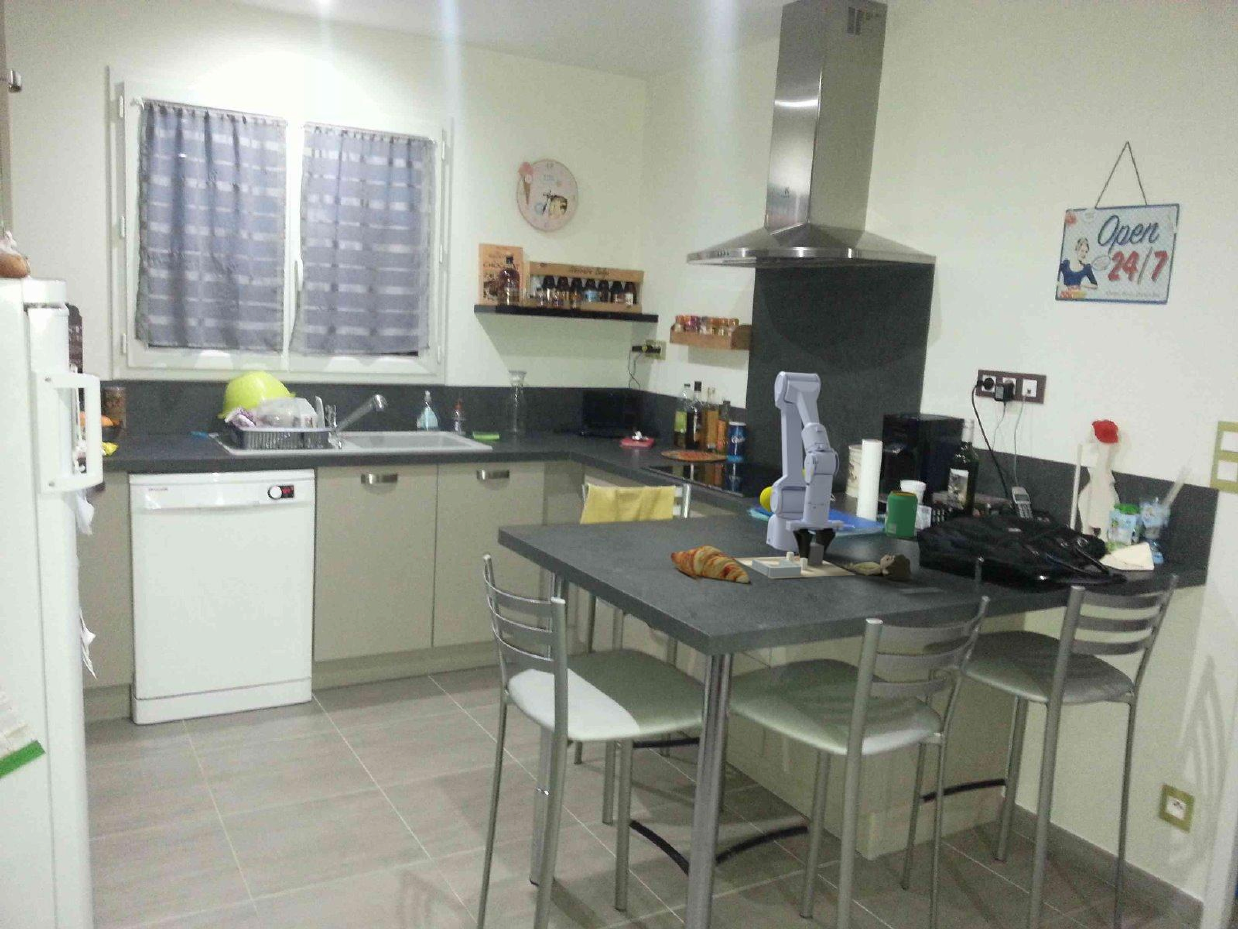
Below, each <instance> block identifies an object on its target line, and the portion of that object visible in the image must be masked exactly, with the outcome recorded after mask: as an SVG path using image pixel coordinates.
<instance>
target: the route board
mask: <svg viewBox="0 0 1238 929" xmlns="http://www.w3.org/2000/svg"><path fill="white" fill-rule="evenodd" d="M733 558H734V557H733ZM779 558H784V559H786V556H769V557H768V556H767V557H766V556H765V557H761V556H760V557H738V558H737V557H736V558H734V559H735V561H736V562H739V563H741V564H743V565H745V566H747V567H748V568H750V569H752V570H754V571H757V570H755V569H753V568H752V560H753V559H757V560H759V561H761V562H763V563H765V564H767V565H769V566H771V567H779ZM793 563H794V564H796V565H799V566H800V560H799V555H798V556H797V555H796V556H795V555H794V559H793ZM757 572H758V571H757ZM836 576H837V577H838V576H840V577H841V576H857V575H856V574H855V573H853V572H851V571H849V570H847V569H845V568H842V567H840V566H837V565H835V564H833V563H831V562H828V561H826V560H824V559H823V562H822V565H818V566H809V565H807V570H802V569H801V576H783V577H769V579H788V578H789V579H790V578H791V579H792V578H793V579H795V578H812V577H813V578H814V577H815V578H817V577H836Z"/></svg>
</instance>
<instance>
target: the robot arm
mask: <svg viewBox="0 0 1238 929" xmlns="http://www.w3.org/2000/svg"><path fill="white" fill-rule="evenodd" d="M774 382H775V383H774V402H775V405H774V406H775V407H776V408H778V410H780V417H781V418H780V420H781V423H780V424H781V453H782V454H781V455H782V458H781V459H782V477H780V478H779V479H777V480H776V481H775V482H773V484H772V494H771V499H770V505H771V509H772V511H773V512H772V513H773V514H772V515H771V516H770V518H769V520H768V524H767V531H766V532H767V533H766V544H767V545H770V546H771V547H773V549H776V550H779V551H783V552H793V553H794V552H795V550H796V549H797V548H798V549H799V554H798V556H800V558H806V559H808V555H809V548H810V544H811V542H812V540H813V537H814V536H815V543H817V544H820V545H822V546H824V553H823V559H824V558H825V555H826V553H827V551H828V549H829V546H830V544H831V543H832V541H833V540H834V539H835V538H836V534H837V533H836V531H833V530H837V531H844V524H845V523H844V521H843V520H839V519H836V520H834V519H829V515H830V509H831V508H830V506H831V496H832V488H833V479H834V477H836V475H837V474H838V471H839V466H840V460H839V455H838V453H837V451H835V449H834V448H833V447H831V444H830V440H829V436H828V433H827V428H826V427H825V426H824V425H823V424H822V423H820V418H819V416H820V415H819V410H818V403H817V400H818V397H819V396H820V395H819V394H820V391H821V384H822V383H821V378H820V376H819V375H818V373H806V372H805V373H804V372H791V371H790V372H788V371H782V370H781V371H780V372H779V373H778V374H777V376H776V378H775V381H774ZM802 424H803V426H802ZM802 428H803V429H802ZM803 447H804V451H805V455H806V456H805V458H804V460H803ZM803 461H804V462H803ZM803 465H804V466H803ZM803 469H805V477H804V476H803ZM788 489H798V490H788ZM810 531H814V533H815V535H814V534H813V533H810ZM795 553H796V552H795Z"/></svg>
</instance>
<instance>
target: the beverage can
mask: <svg viewBox="0 0 1238 929" xmlns="http://www.w3.org/2000/svg"><path fill="white" fill-rule="evenodd" d="M918 504H919V499H918V496H917V493H914V492H912V491H904V490H891V491H890V493H889V495H888V496H887V501H886V510H885V517H884V518H885V519H884V527H885V531H884V530H883V531H884V535H885V534H886V535H887V537H890V538H892V537H897V538H896V539H898V538H905V539H904V540H910V539H909V538H911V537H912V538H913V536H914V535H915V530H916V528H915V527H916V522H917V521H916V520H917V512H918ZM886 535H885V536H886ZM906 538H907V539H906ZM912 538H911V539H912Z"/></svg>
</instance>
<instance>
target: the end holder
mask: <svg viewBox="0 0 1238 929" xmlns="http://www.w3.org/2000/svg"><path fill="white" fill-rule="evenodd" d="M752 568H753V569H752ZM752 568H751V569H752V570H754V569H755V570H754V571H756V570H757V573H760V574H762V575H764V576H766V577H768V578H770V577H783V576H801V566H799V565H796V564H794V563H792V562H790V561H788V560H786V559H784V558H779V567H771V566H769V565H767V564H765V563H763V562H761V561H759V560H757V559H753V560H752Z"/></svg>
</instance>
